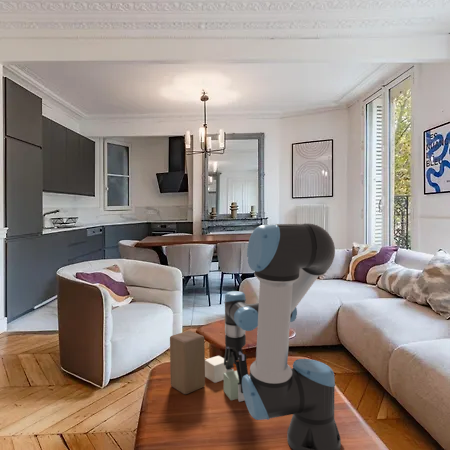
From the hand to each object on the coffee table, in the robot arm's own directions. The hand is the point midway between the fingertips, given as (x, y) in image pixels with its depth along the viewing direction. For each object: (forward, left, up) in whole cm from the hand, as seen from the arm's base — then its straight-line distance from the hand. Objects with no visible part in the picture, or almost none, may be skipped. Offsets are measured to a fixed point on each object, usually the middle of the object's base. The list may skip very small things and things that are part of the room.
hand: (235, 392), depth 133 cm
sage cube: (0, 0, 0) cm, 0 cm away
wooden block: (+12, +15, 0) cm, 19 cm away
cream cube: (+15, +2, 0) cm, 15 cm away
